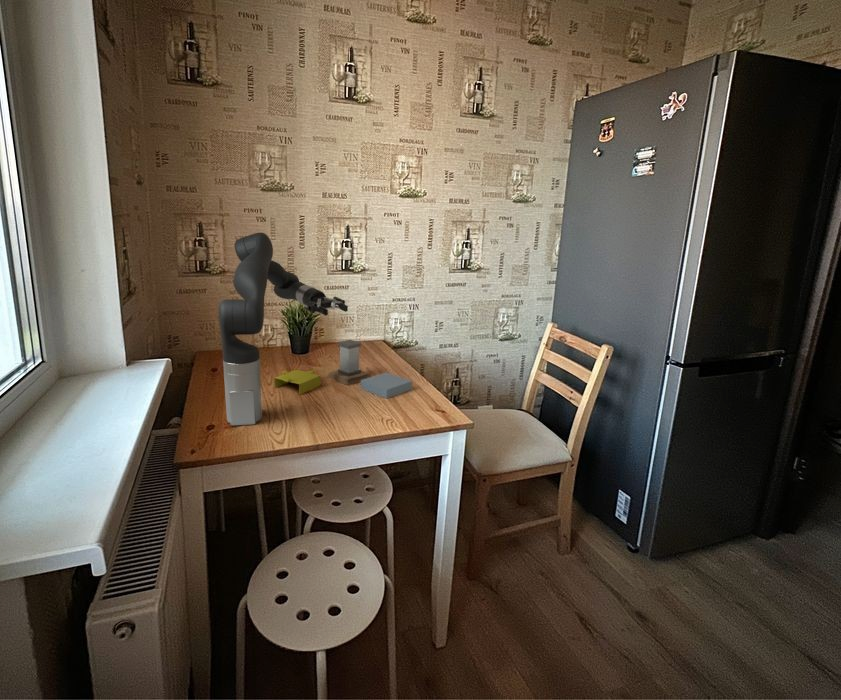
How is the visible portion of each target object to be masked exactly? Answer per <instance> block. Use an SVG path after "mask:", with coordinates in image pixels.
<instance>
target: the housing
mask: <svg viewBox="0 0 841 700" xmlns="http://www.w3.org/2000/svg"><path fill="white" fill-rule="evenodd" d="M337 346H338V347H339V369H337V370H338V373H340V374H342V375H345V376H348V377H349V376H353V375H356V374H360V373H361V371H362V369H360V347H362V342H359V341H356V340H352V339H347V340H343V341H338V342H337Z"/></svg>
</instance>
